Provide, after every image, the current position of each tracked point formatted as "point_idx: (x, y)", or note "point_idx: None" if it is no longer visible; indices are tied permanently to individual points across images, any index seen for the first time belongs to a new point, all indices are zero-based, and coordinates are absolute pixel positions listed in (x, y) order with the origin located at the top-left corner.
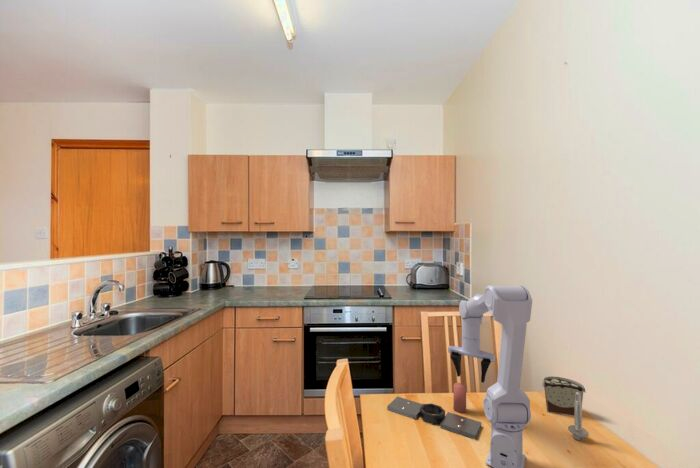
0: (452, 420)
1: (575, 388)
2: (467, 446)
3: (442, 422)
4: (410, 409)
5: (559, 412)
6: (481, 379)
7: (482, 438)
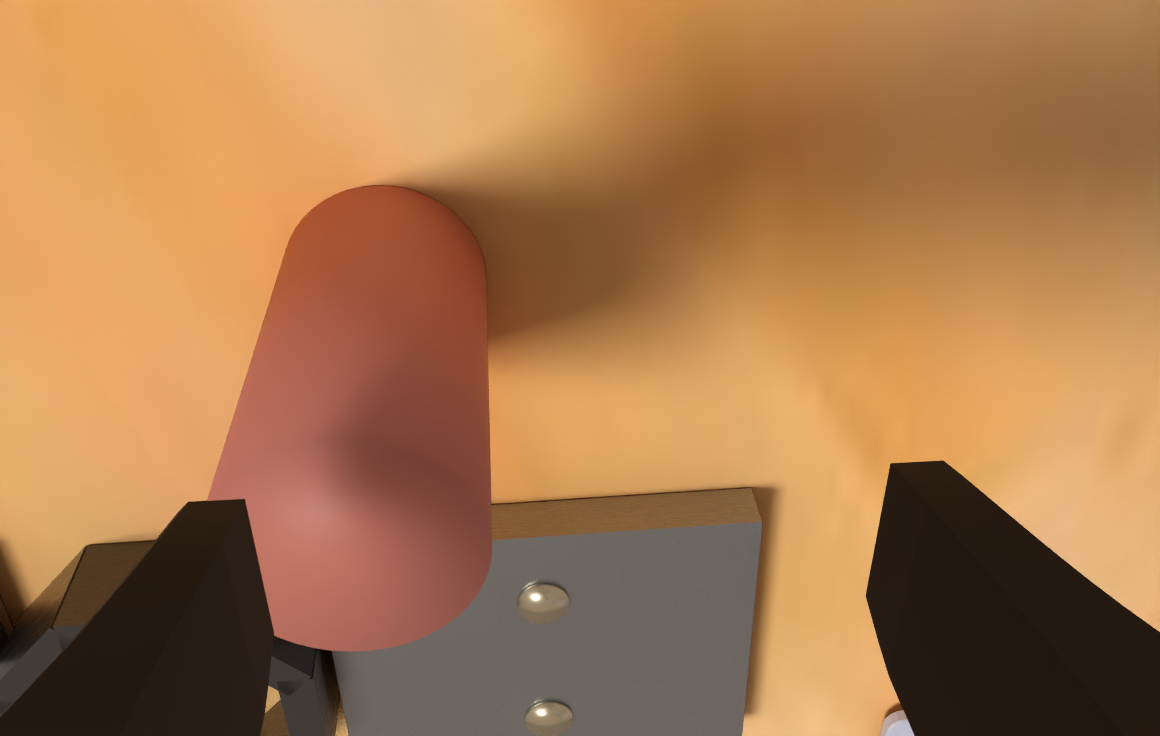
0: (444, 676)
1: None
2: None
3: None
4: None
5: None
6: (898, 673)
7: (788, 665)
